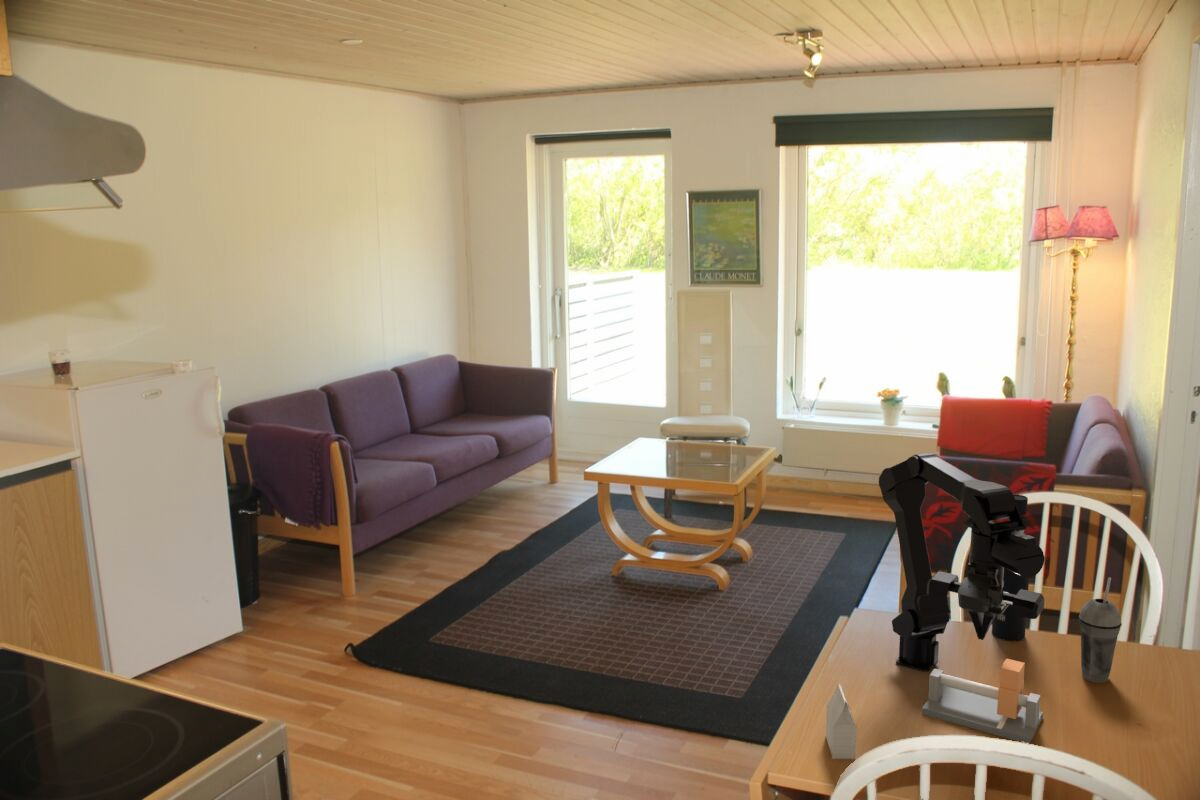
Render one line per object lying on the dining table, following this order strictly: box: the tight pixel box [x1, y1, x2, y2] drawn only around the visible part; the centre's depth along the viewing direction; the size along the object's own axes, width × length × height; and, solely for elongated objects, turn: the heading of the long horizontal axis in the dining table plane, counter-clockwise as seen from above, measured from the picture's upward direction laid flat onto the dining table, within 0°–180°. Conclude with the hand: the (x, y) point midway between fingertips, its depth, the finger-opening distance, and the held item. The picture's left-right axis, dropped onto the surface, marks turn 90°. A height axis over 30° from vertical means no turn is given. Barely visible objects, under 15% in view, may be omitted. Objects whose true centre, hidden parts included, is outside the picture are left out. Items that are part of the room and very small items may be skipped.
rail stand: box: [921, 668, 1044, 744], centre depth 172 cm, size 18×10×6 cm, turn 55°
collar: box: [997, 658, 1026, 719], centre depth 169 cm, size 3×5×8 cm, turn 145°
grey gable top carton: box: [825, 683, 857, 760], centre depth 163 cm, size 4×7×10 cm, turn 176°
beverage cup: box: [1078, 576, 1122, 684], centre depth 183 cm, size 7×7×20 cm
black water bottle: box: [991, 493, 1030, 642], centre depth 200 cm, size 6×6×30 cm
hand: (981, 638), depth 174 cm, fingers closed
